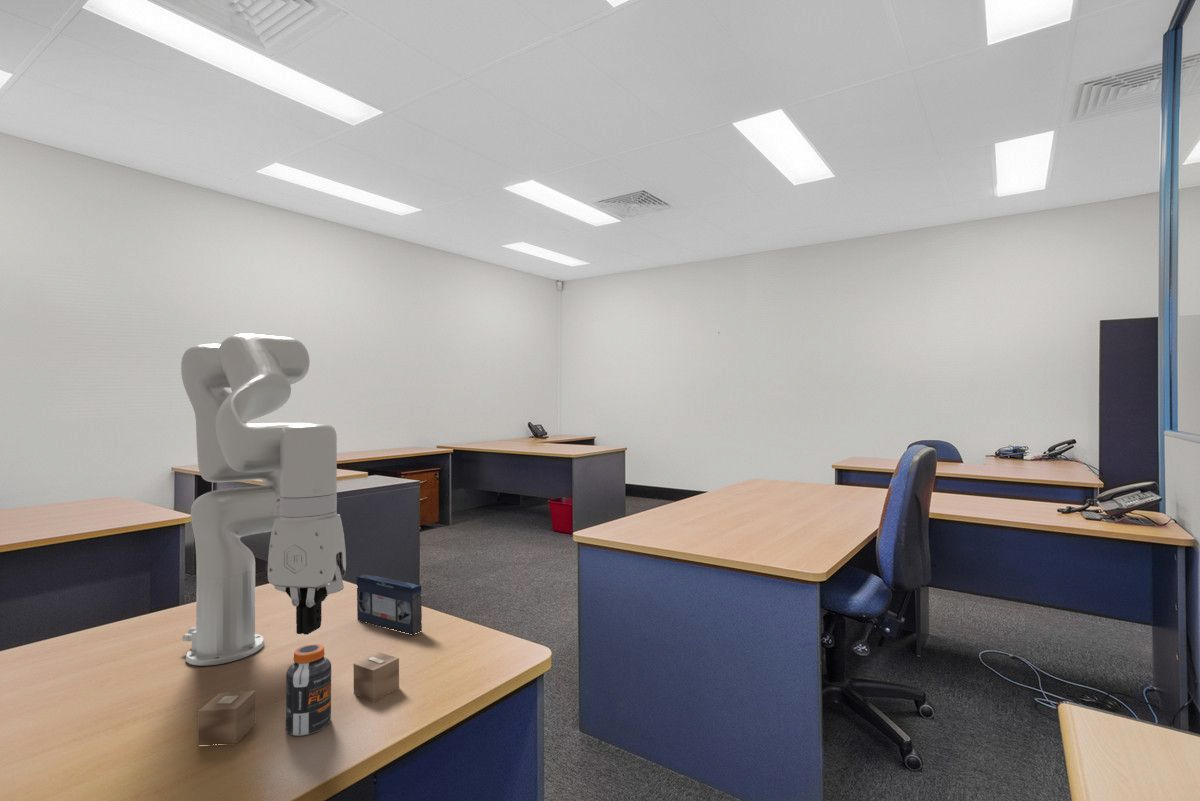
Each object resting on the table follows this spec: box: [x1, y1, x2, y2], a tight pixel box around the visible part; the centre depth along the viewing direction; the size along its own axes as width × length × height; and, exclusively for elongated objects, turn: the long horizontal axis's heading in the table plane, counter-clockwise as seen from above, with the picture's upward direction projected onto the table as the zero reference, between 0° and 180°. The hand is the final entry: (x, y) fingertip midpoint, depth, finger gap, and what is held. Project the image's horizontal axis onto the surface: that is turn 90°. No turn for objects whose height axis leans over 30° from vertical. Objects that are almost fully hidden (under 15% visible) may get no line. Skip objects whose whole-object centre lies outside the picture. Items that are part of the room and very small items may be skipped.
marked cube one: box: [197, 690, 256, 746], centre depth 79 cm, size 5×5×5 cm
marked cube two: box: [353, 651, 400, 702], centre depth 91 cm, size 5×5×5 cm
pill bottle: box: [285, 643, 332, 737], centre depth 81 cm, size 6×6×11 cm
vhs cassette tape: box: [356, 573, 423, 636], centre depth 119 cm, size 18×3×10 cm, turn 58°
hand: (308, 630), depth 81 cm, fingers closed
